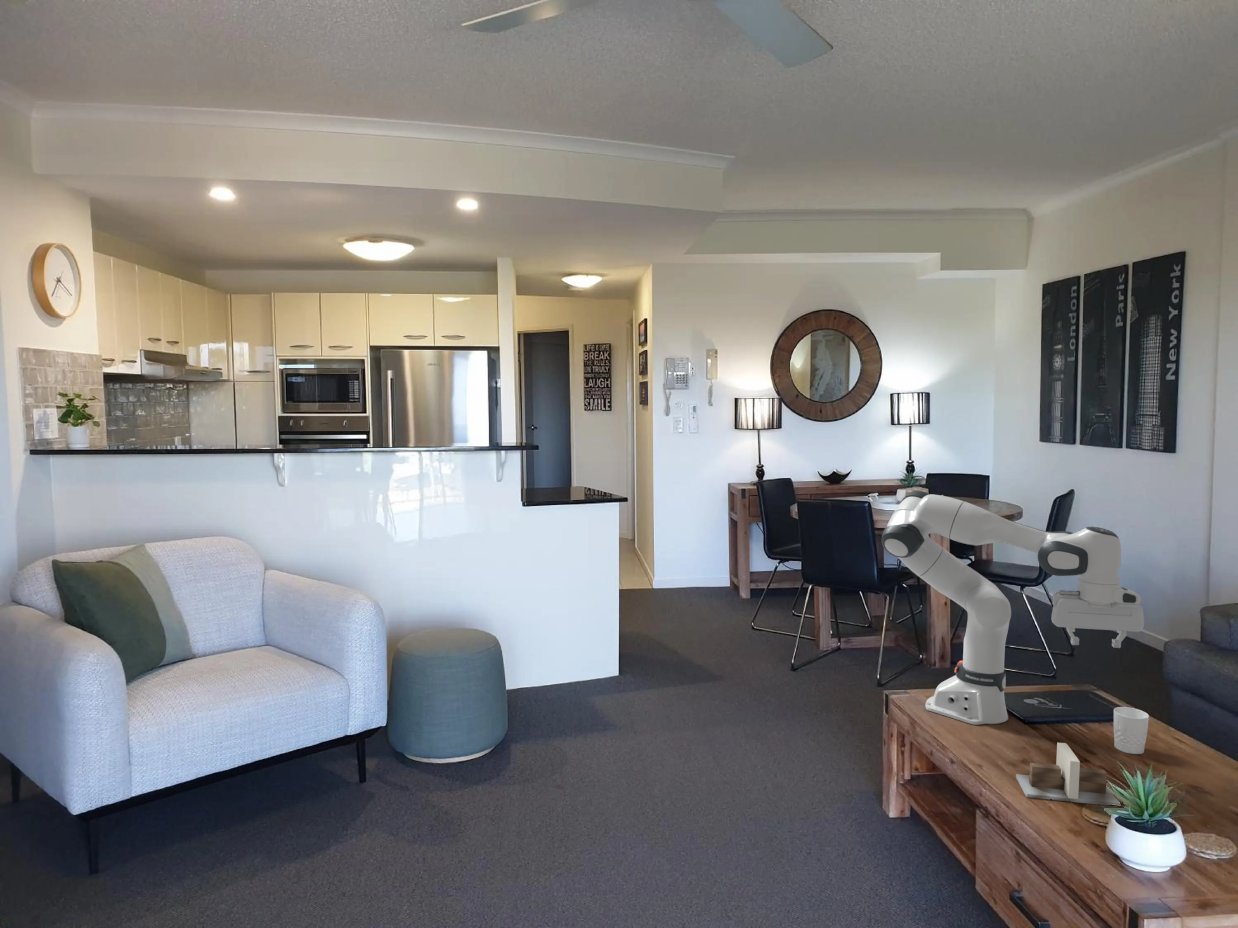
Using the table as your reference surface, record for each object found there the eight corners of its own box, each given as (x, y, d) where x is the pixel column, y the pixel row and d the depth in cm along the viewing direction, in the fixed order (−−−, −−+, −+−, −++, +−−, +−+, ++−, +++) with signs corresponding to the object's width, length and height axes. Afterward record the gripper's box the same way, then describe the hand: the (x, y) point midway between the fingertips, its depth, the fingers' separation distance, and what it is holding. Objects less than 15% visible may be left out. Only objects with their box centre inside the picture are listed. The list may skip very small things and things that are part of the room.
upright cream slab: (1078, 798, 185) (1080, 761, 184) (1068, 797, 185) (1070, 760, 184) (1064, 778, 194) (1066, 743, 194) (1055, 777, 195) (1057, 742, 194)
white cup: (1152, 756, 208) (1154, 719, 207) (1118, 753, 209) (1120, 717, 208) (1139, 743, 215) (1141, 707, 215) (1106, 741, 217) (1108, 705, 216)
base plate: (1026, 796, 187) (1027, 773, 187) (1015, 776, 197) (1016, 754, 196) (1121, 806, 183) (1122, 782, 182) (1105, 785, 192) (1107, 762, 192)
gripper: (1056, 592, 199) (1053, 646, 201) (1148, 597, 195) (1145, 652, 196) (1049, 586, 206) (1046, 638, 207) (1138, 591, 201) (1135, 644, 202)
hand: (1095, 645), depth 201 cm, fingers open, 8 cm apart
